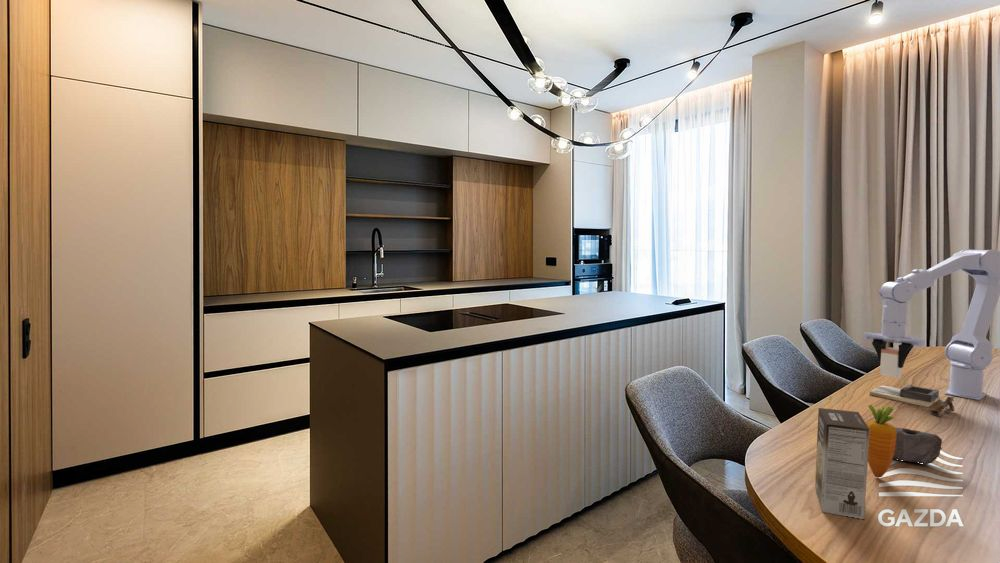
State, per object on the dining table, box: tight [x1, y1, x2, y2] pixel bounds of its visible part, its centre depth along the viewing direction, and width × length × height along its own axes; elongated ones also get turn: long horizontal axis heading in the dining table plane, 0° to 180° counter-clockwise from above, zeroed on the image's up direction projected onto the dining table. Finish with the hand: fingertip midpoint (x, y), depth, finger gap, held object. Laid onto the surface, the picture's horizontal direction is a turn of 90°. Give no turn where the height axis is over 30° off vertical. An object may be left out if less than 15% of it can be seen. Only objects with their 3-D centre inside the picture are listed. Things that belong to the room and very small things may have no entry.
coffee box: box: [814, 407, 870, 520], centre depth 87 cm, size 9×6×16 cm
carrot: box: [865, 404, 897, 478], centre depth 97 cm, size 5×5×15 cm
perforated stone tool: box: [892, 426, 943, 466], centre depth 106 cm, size 15×5×7 cm, turn 45°
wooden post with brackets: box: [929, 396, 955, 417], centre depth 133 cm, size 2×8×4 cm, turn 110°
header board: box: [869, 384, 941, 408], centre depth 147 cm, size 11×14×3 cm
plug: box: [879, 346, 903, 379], centre depth 149 cm, size 5×4×8 cm
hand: (891, 365), depth 149 cm, fingers closed on plug, 4 cm apart
